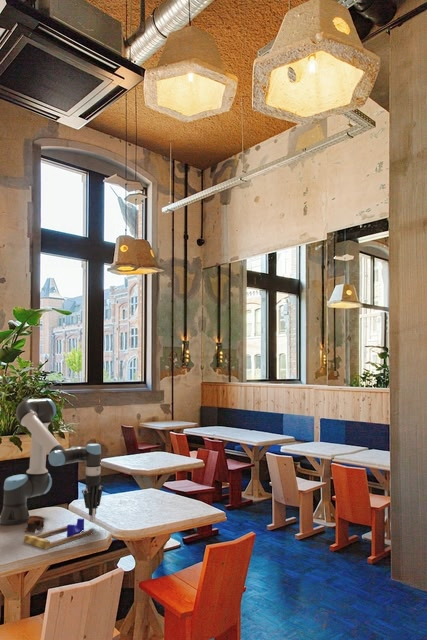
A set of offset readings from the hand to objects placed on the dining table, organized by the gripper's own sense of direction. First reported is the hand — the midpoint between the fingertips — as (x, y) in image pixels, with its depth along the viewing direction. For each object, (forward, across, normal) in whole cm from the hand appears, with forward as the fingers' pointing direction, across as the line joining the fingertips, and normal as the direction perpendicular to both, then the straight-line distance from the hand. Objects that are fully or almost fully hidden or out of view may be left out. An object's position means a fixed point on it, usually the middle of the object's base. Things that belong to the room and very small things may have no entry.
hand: (92, 521), depth 263 cm
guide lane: (+3, -20, 0) cm, 20 cm away
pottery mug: (+3, -20, +19) cm, 28 cm away
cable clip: (+3, -12, -1) cm, 13 cm away
